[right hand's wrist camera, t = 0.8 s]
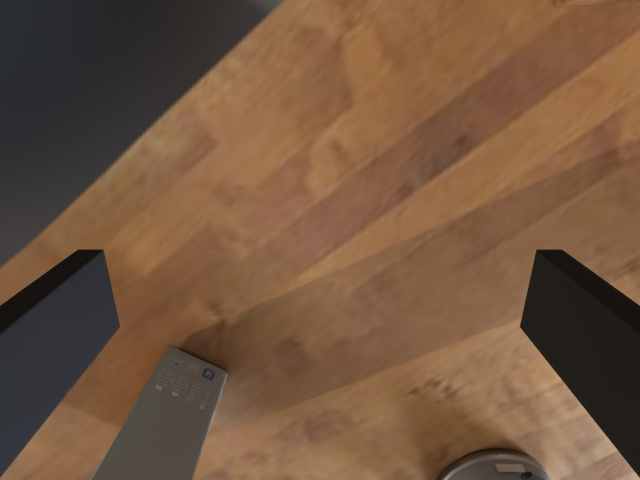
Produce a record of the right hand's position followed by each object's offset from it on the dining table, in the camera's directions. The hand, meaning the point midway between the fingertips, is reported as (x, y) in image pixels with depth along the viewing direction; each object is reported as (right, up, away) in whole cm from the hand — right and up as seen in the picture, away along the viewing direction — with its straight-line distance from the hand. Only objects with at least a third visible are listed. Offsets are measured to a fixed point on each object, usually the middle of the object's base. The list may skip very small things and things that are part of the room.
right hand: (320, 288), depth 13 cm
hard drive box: (-18, -18, +37) cm, 44 cm away
